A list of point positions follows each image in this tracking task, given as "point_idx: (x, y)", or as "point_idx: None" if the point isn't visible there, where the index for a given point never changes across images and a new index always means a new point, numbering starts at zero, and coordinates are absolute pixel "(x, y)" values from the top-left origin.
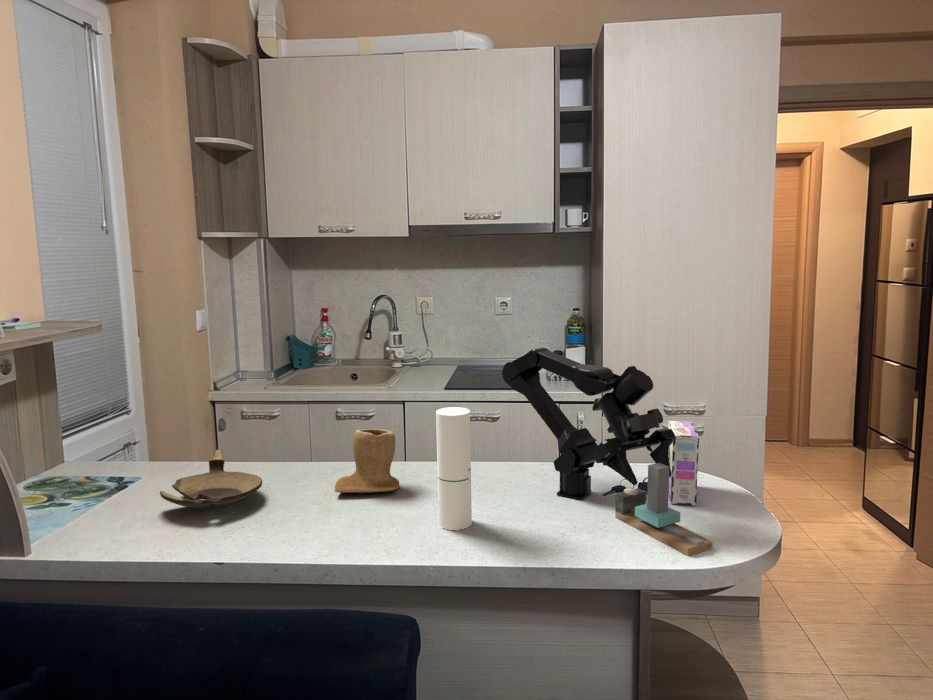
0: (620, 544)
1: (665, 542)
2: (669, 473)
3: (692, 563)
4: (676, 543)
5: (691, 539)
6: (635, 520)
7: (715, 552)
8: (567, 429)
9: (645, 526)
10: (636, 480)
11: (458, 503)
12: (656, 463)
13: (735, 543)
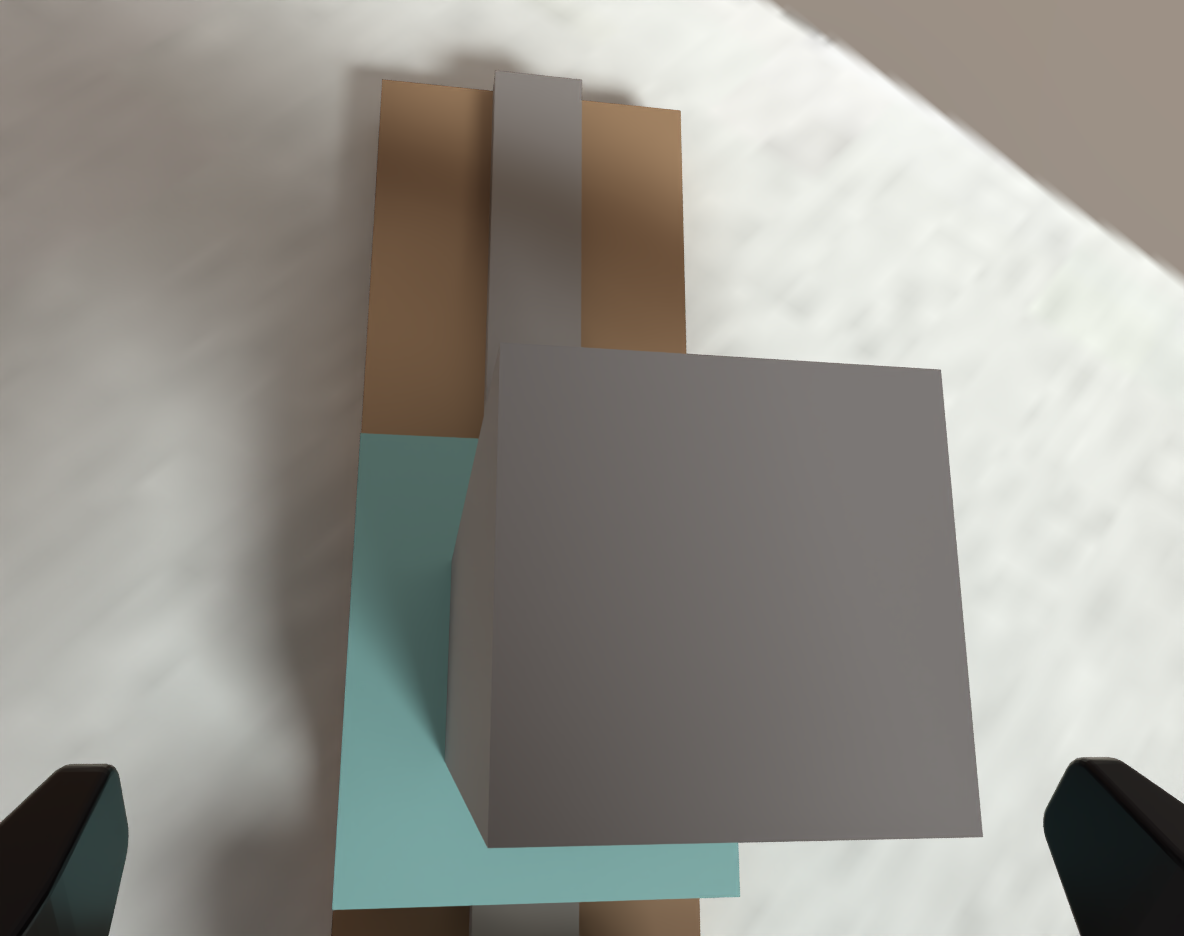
0: (1012, 602)
1: None
2: (96, 796)
3: (718, 57)
4: (682, 240)
5: (574, 146)
6: None
7: (413, 68)
8: None
9: None
10: (1123, 785)
11: None
12: (635, 824)
13: (104, 73)
